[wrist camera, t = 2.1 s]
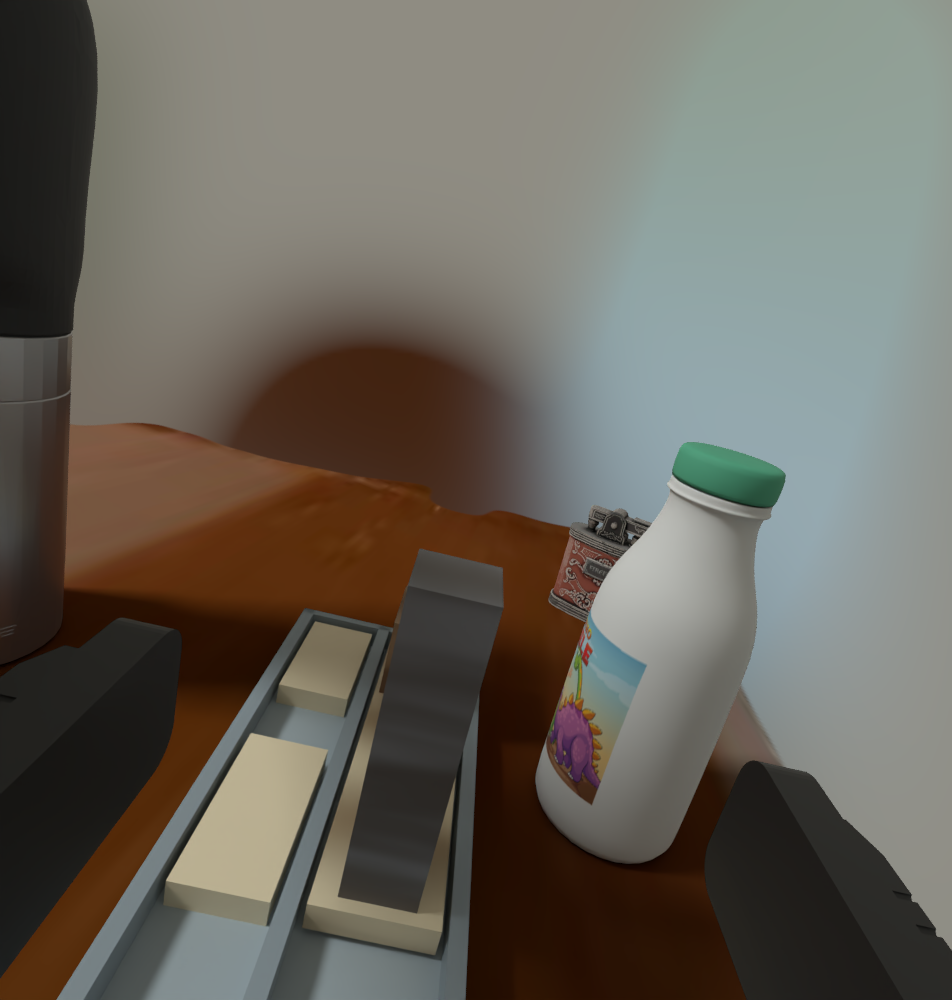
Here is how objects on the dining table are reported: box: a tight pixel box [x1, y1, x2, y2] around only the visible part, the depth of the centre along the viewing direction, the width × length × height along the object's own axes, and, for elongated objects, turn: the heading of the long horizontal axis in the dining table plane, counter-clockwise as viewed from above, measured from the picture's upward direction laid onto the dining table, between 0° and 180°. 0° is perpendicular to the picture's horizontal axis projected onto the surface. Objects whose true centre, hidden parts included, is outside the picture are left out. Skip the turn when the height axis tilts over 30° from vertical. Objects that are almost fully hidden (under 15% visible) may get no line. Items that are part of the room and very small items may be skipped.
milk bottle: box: [536, 442, 786, 864], centre depth 30 cm, size 8×8×20 cm
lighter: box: [549, 505, 652, 622], centre depth 53 cm, size 8×3×10 cm, turn 63°
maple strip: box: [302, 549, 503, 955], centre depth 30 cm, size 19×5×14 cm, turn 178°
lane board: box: [57, 608, 479, 1000], centre depth 27 cm, size 31×12×2 cm, turn 178°
